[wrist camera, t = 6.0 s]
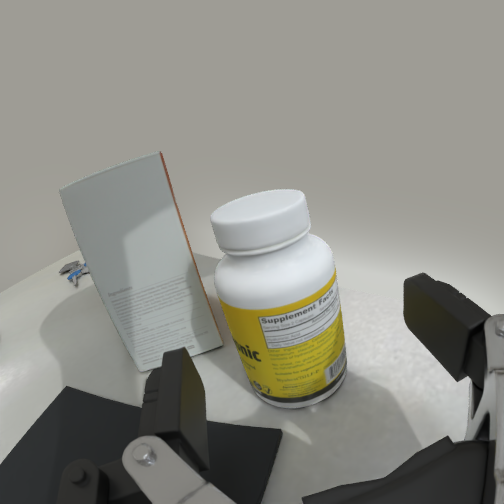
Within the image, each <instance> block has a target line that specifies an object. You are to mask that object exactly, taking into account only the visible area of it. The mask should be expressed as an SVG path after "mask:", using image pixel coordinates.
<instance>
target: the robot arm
mask: <svg viewBox="0 0 504 504" xmlns="http://www.w3.org/2000/svg"><path fill="white" fill-rule="evenodd" d="M403 314H404V320H405V323H406V325H407V327H408V329H409V330H410V331H411V332H412V333H413V334H414V335H415V336H416V337H417V338H418V339H419V340H420V342H421V343H422V344H423V345H424V346H425V347H426V348H427V349H428V350H429V351H430V352H431V353H432V355H433V356H434V357H435V358H436V359H437V360H438V361H439V362H440V363H441V364H442V366H443V367H444V368H445V369H446V370H447V371H448V372H449V373H450V375H451V376H452V377H453V378H454V379H455V380H456V381H457V382H458V381H460V380H462V379H463V378H465V377H467V376H469V378H470V379H471V380H470V384H469V407H468V423H467V431H466V435H465V438H464V441H459V442H454V443H453V442H452V441H451V439H450V438H449V436H446V437H444V438H443V439H441V440H439V441H437V442H436V443H434V444H432V445H430V446H428V447H426V448H425V449H423V450H421V451H419V452H417V453H416V454H414V455H413V456H412V457H411V458H409V459H408V460H407V461H406V462H404V463H403V464H402V465H401V466H399V467H398V468H397V469H395V470H394V471H393V472H392V473H390V474H389V475H387V476H386V477H384V478H381V479H376V480H371V481H365V482H359V483H353V484H346V485H340V486H337V487H334V488H331V489H328V490H325V491H322V492H319V493H316V494H312V495H309V496H306V497H302V501H303V504H504V314H498V315H494V316H491V315H489V314H488V313H487V312H486V311H484V310H483V309H482V308H481V307H479V306H478V305H477V304H475V303H474V302H473V301H471V300H470V299H469V298H466V296H465V295H463V294H462V293H459V291H458V290H457V289H455V288H454V287H452V286H451V285H450V284H447V283H444V282H441V281H435V280H434V279H432V278H431V277H430V276H428V275H427V274H425V273H420V274H418V275H415V276H413V277H410V278H407V279H405V281H404V311H403ZM143 402H144V403H143V404H142V411H141V418H140V425H139V432H138V438H137V439H135V440H134V441H132V442H131V443H130V444H129V445H128V446H127V447H126V449H125V450H124V452H123V456H122V458H120V459H118V460H116V461H113V462H110V463H107V464H104V465H101V466H97V465H96V464H95V463H94V462H93V461H91V460H89V459H77V460H75V461H73V462H71V463H70V464H69V465H67V467H66V468H65V469H64V471H63V473H62V476H61V480H60V486H59V491H58V497H57V503H56V504H236V503H235V502H234V501H232V500H231V499H230V498H229V497H227V496H226V495H225V494H224V493H222V492H221V491H220V490H219V489H218V488H216V487H215V486H214V485H213V484H211V483H210V482H209V481H206V480H204V479H203V478H202V477H201V476H200V475H199V472H201V471H207V470H210V466H209V452H208V437H207V420H206V401H205V390H204V386H203V383H202V380H201V378H200V375H199V373H198V371H197V369H196V367H195V365H194V363H193V361H192V359H191V357H190V355H189V353H188V351H187V349H186V348H185V347H183V348H179V349H175V350H170V351H166V352H164V353H163V359H162V366H161V368H156V369H153V371H152V372H151V374H150V375H149V377H148V379H147V380H146V386H145V394H144V398H143Z"/></svg>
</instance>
